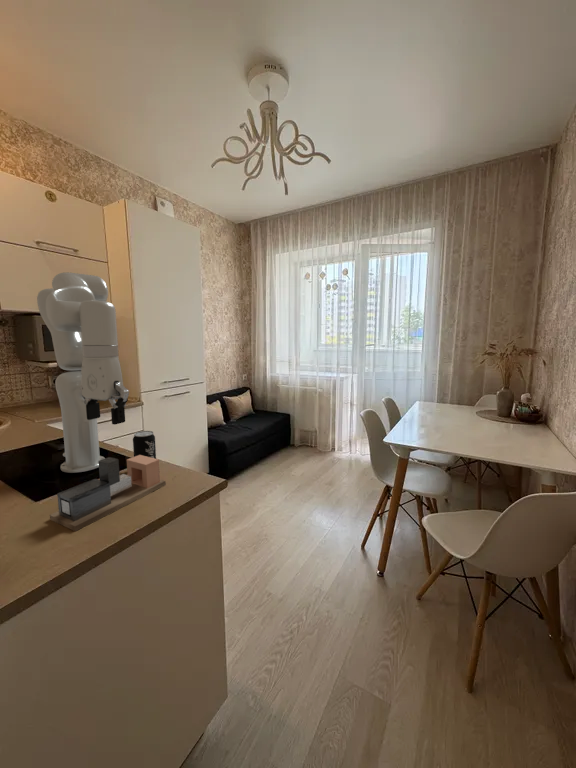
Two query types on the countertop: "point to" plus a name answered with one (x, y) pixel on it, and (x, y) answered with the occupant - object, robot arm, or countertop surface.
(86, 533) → the countertop surface
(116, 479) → the slide bolt
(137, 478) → the socket block
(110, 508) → the base board
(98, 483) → the sleeve
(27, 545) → the countertop surface
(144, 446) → the beverage can
